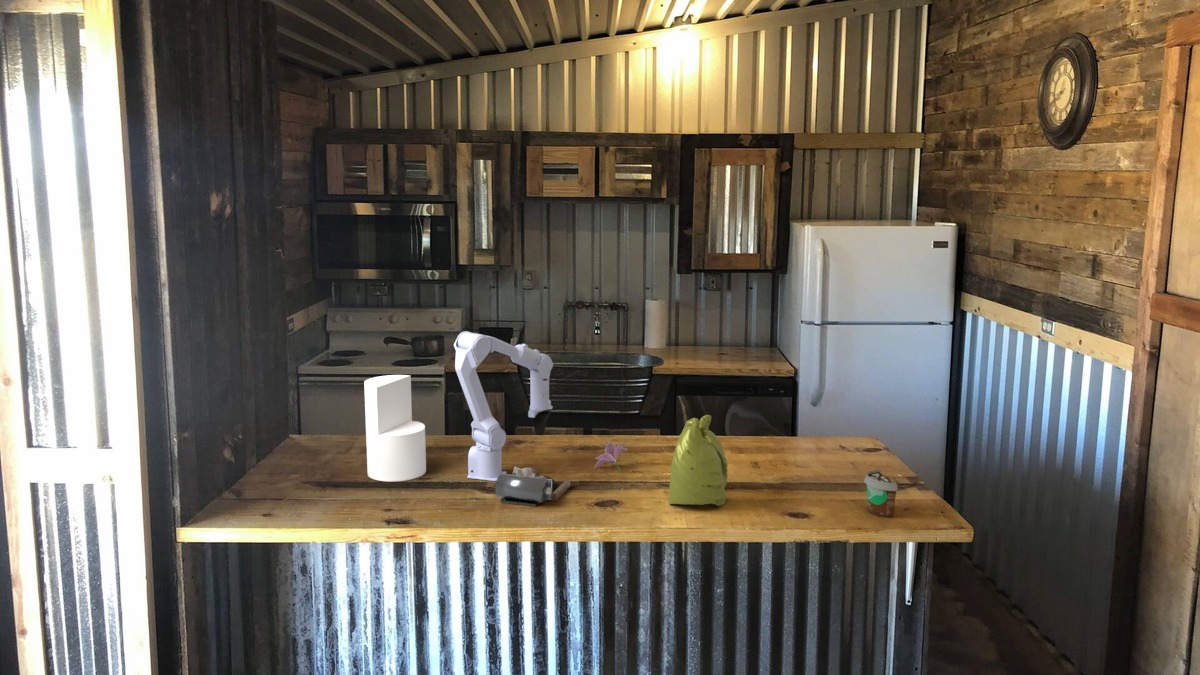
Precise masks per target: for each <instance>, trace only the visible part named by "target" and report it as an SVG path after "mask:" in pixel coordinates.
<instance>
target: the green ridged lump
mask: <svg viewBox="0 0 1200 675" xmlns="http://www.w3.org/2000/svg"><path fill="white" fill-rule="evenodd" d="M711 422H712V415H710V414H705V415H703V416H702V417H701V418H700V419H698V418H697V417H693V418H691V419H688V420H686V421H685V424H684V427H683V429H682V431H681V433H680V434H679V436H678V437H677V443H676V446H675V448H674V452H673V456H672V458H671V459H672V460H671V466H670V467H671V468H670V475H669V495H668V504H669V505H687V506H688V505H691V506H693V505H699V506H700V505H701V506H704V505H709V504H713V505H716V506H718V507H719V506H723V505H724V504H725V502H726V490H725V488H726V487H727V484H728V482H727V479H728V477H729V476H728V471H729V470H728V460H727V458H726V456H725V454H726V453H725V451H724V448H723V446H722V443H721V440H720V438H719V437H718V436H717V435H716V434H715V433H714V432H713V431H711V430H710V429H709V426H710V424H711Z"/></svg>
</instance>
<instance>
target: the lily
mask: <svg viewBox="0 0 1200 675" xmlns="http://www.w3.org/2000/svg"><path fill="white" fill-rule="evenodd" d="M626 443H627V441H626V440H625V441H624V442H622V443H620V444H618V445H616V444H615V443H614V442H612V441H609V442H608V443H607V444H606V445H605V448H604V453H602V454H600V455H598V456H597V457H595V459H594V460H597V462H596V463H595V465H594V466H593V467H594V469H596V468H598V467H599V466H601V465H602V464H605V463H608V464H609V465H611V466H613V465H614V464H616V467H617V468H618V471H619V473H620V472H621V473H622V471H621V469H620V467H619V465H618V462H617V458H618V456H619V455H621V454H622V453H624V452H627V451H628V448H627V447H624V446H625V444H626ZM612 464H613V465H612Z"/></svg>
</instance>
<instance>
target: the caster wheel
mask: <svg viewBox="0 0 1200 675" xmlns="http://www.w3.org/2000/svg"><path fill="white" fill-rule="evenodd" d="M511 475H518V476H527V477H536V478H545V479H552V492H554V491H555V488H556V483H557V482H556V480H555V479H553V478H552V477H550V476H547V475H544V474H541V473H540V472H538V470H537V469H536V468H534V467H529V466H527V467H523V468H521V467H517V466H514V467H513V469H512V474H511Z"/></svg>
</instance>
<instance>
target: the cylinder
mask: <svg viewBox="0 0 1200 675" xmlns="http://www.w3.org/2000/svg"><path fill="white" fill-rule="evenodd" d="M411 376H412V375H407V374H391V375H389V374H388V375H381V376H374V377H370V378H368V379H366V380H364V381H363V382H364V385H363V386H364V387H363V388H364V391H363V392H364V412H365V414H364V416H365V417H364V418H365V441H366V444H365V445H366V466H367V468H366V470H367V477H369V478H370V479H372V480H376V481H380V482H403V481H405V482H406V481H409V480H413V479H416V478H417V479H418V478H420V477H422V476H423V475H425V474H426V472H427V457H426V456H427V452H426V451H427V449H426V448H427V447H426V425H425V423H422V422H421V421H417V420H413V413H412V412H413V411H412V407H413V406H412V378H411Z"/></svg>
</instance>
